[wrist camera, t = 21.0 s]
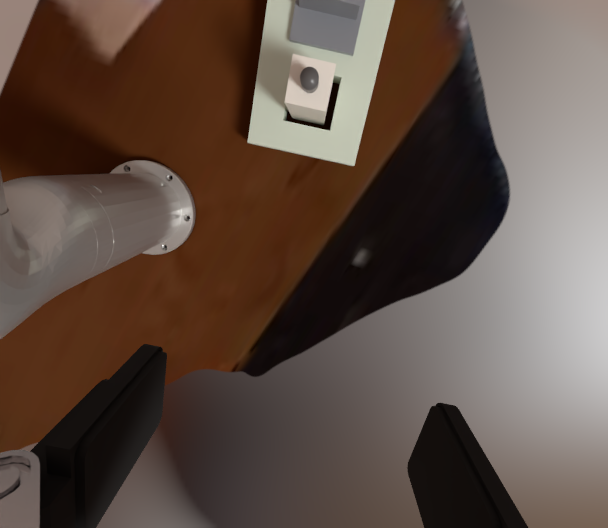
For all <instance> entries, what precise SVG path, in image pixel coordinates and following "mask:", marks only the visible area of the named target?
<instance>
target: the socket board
mask: <svg viewBox="0 0 608 528" xmlns="http://www.w3.org/2000/svg"><path fill="white" fill-rule="evenodd" d="M295 2H296V0H267V7H266V15H265V22H264V29H263V36H262V43H261V50H260V57H259V64H258V71H257V78H256V85H255V92H254V100H253V107H252V114H251V121H250V128H249V135H248V143H250V144H254V145H258V146H263V147H267V148H272V149H277V150H281V151H286V152H290V153H295V154H299V155H304V156H308V157H313V158H318V159H322V160H327V161H331V162H336V163H340V164H345V165H350V166H354V165H355V160H356V156H357V152H358V148H359V144H360V140H361V136H362V132H363V128H364V124H365V120H366V116H367V112H368V108H369V104H370V99H371V95H372V91H373V87H374V83H375V79H376V75H377V71H378V67H379V63H380V59H381V55H382V51H383V47H384V42H385V38H386V34H387V30H388V26H389V22H390V18H391V14H392V10H393V6H394V2H395V0H365V5H364V9H363V14H362V18H361V23H360V27H359V32H358V36H357V41H356V45H355V50H354V54H353V56H350V55H346V54H342V53H337V52H333V51H329V50H324V49H320V48H315V47H311V46H307V45H302V44H298V43H294V42H290V41H289V38H290V32H291V26H292V20H293V14H294V8H295ZM293 54H296V55H300V56H305V57H309V58H313V59H318V60H322V61H326V62H331V63H335V64H336V68H335V73H334V78H333V83H337V84H340V85H339V90H338V94H337V99H336V104H335V108H334V113H333V118H332V122H331V127H330V131H329V130H324V129H320V128H315V127H311V126H306V125H302V124H297V123H293V122H288V121H286V117H287V112H288V108H287V106H286V104H285V96H286V91H287V85H288V79H289V73H290V67H291V61H292V56H293Z"/></svg>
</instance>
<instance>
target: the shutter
mask: <svg viewBox="0 0 608 528" xmlns="http://www.w3.org/2000/svg"><path fill="white" fill-rule="evenodd" d="M364 5H365V0H296V2H295V8H294V14H293V20H292V26H291V32H290V38H289V41H290V42H294V43H298V44H302V45H307V46H311V47H315V48H320V49H324V50H329V51H333V52H337V53H342V54H346V55H350V56H353V54H354V50H355V45H356V41H357V36H358V32H359V27H360V23H361V18H362V14H363V9H364Z"/></svg>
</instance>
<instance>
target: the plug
mask: <svg viewBox="0 0 608 528" xmlns="http://www.w3.org/2000/svg"><path fill="white" fill-rule="evenodd" d="M335 68H336V64H335V63H331V62H326V61H322V60H318V59H313V58H309V57H305V56H300V55H296V54H293V56H292V61H291V67H290V73H289V79H288V85H287V91H286V96H285V104H286V106H287V108H288V110H289V112H290V115H291V117H292V118H293V119H297V120H302V121H306V122H311V123H315V124H320V125H324V122H325V117H326V112H327V108H328V103H329V98H330V94H331V89H332V84H333V78H334V73H335Z"/></svg>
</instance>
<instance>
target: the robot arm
mask: <svg viewBox="0 0 608 528" xmlns="http://www.w3.org/2000/svg"><path fill="white" fill-rule="evenodd" d="M129 168H130V169H129ZM171 176H172V178H173V179H171ZM188 216H189V217H190V219H189V218H188ZM194 223H195V205H194V201H193V197H192V195H191V193H190V190H189V189H188V187H187V185H186V184H185V182H184V181H183V180H182V179H181V178H180V177H179V176H178V175H177V174H176V173H175V172H174V171H172V170H171V169H170V168H168V167H166V166H164V165H162V164H160V163H156V162H153V161H146V160H134V161H129V162H125V163H123V164H121V165H119V166H117V167H116V168H115V169H113V170H112V171H111V172H110V173H109V174H82V175H51V176H30V177H23V178H18V179H14V180H10V181H7V182H4V183H3V182H2V176H1V170H0V339H1V338H3V337H4V336H5V335H7V334H8V333H9V332H10V331H12V330H13V329H14V328H15V327H17V326H18V325H19V324H20V323H22V322H23V321H24V320H25V319H26V318H27V317H29V316H30V315H31V314H32V313H33V312H35V311H36V310H37V309H38V308H40V307H41V306H42V305H44V304H45V303H46V302H48V301H49V300H51V299H52V298H54V297H55V296H57V295H59V294H61V293H62V292H64V291H66V290H68V289H70V288H71V287H73V286H75V285H77V284H79V283H81V282H83V281H85V280H87V279H89V278H91V277H93V276H96V275H98V274H100V273H102V272H104V271H106V270H108V269H110V268H112V267H114V266H116V265H118V264H120V263H122V262H124V261H126V260H128V259H130V258H132V257H134V256H136V255H138V254H140V253H144V254H151V255H156V254H164V253H167V252H170V251H172V250H174V249H176V248H177V247H179V246H180V245H182V244H183V243H184V242H185V241H186V240H187V239H188V237H189V235H190V234H191V232H192V229H193V227H194ZM166 246H167V247H166ZM166 360H167V354H166V353H165V352H163V350H162V348H161V347H158V346H153V345H148V344H144V345H142V346H141V347H140V348H139V349H138V350H137V351H136V352H135V353H134V354H133V355H132V356H131V357H130V358H129V360H128V361H127V362H126V363H125V364H124V365H123V366H122V367H121V368H120V369H119V370H118V371H117V372H116V373H115V374H114V375H113V376H112V377H111V378H110V379H109V380H107V379H105V380H102V381H101V382H100V383H98V384H97V385H96V386H95V387H94V388H93V389H92V390H91V391H90V392H89V393H88V394H87V395H86V396H85V397H84V398H83V399H82V400H81V401H80V402H79V403H78V404H77V405H76V406H75V407H74V408H73V409H72V410H71V411H70V412H69V413H68V414H67V415H66V416H65V417H64V418H63V419H62V420H61V421H60V422H59V423H58V424H57V425H56V426H55V427H54V428H53V429H52V430H51V431H50V432H49V433H48V434H47V435H46V436H45V437H44V438H43V439H42V440H41V441H40V442H39V443H38V444H37V445H36V446H35V447H34V448H33V449H32V450H31V451H30V452H29V451H26V450H12V451H7V452H3V453H0V528H96V527H97V525H98V523H99V522H100V520H101V518H102V517H103V515H104V514H105V512H106V510H107V509H108V507H109V505H110V504H111V502H112V500H113V499H114V497H115V495H116V494H117V492H118V491H119V489H120V487H121V486H122V484H123V482H124V481H125V479H126V477H127V476H128V474H129V473H130V471H131V469H132V468H133V466H134V464H135V463H136V461H137V459H138V458H139V456H140V455H141V453H142V451H143V449H144V448H145V446H146V445H147V443H148V441H149V440H150V438H151V436H152V435H153V433H154V432H155V430H156V428H157V427H158V425H159V423H160V420H161V417H162V409H163V397H164V385H165V373H166ZM408 475H409V478H410V482H411V485H412V488H413V492H414V494H415V498H416V501H417V505H418V508H419V512H420V515H421V518H422V521H423V525H424V528H528V526H527V525H526V523H525V521H524V520H523V518H522V516H521V514H520V513H519V511H518V510H517V508H516V506H515V504H514V503H513V501H512V499H511V498H510V496H509V494H508V493H507V491H506V489H505V487H504V486H503V484H502V482H501V481H500V479H499V477H498V475H497V474H496V472H495V470H494V469H493V467H492V465H491V464H490V462H489V460H488V458H487V457H486V455H485V454H484V452H483V450H482V448H481V447H480V445H479V443H478V442H477V440H476V438H475V437H474V435H473V433H472V431H471V430H470V428H469V426H468V424H467V423H466V421H465V419H464V418H463V416H462V414H461V413H460V411H459V409H458V408H457V407H456V406H453V405H448V404H443V403H437V404H436V406H432V407H431V409H430V411H429V413H428V416H427V418H426V421H425V423H424V425H423V428H422V430H421V433H420V435H419V437H418V440H417V442H416V445H415V447H414V450H413V452H412V455H411V457H410V459H409V462H408Z"/></svg>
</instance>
